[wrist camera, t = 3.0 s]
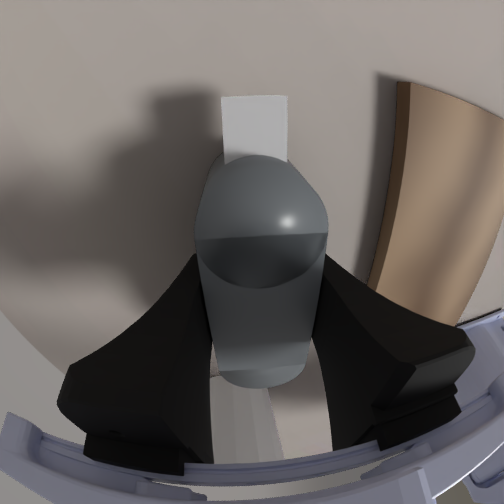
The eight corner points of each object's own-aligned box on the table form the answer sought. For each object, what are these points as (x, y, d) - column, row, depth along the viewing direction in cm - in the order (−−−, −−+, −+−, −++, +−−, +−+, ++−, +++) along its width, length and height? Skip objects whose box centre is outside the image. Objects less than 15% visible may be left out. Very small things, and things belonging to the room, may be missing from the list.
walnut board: (508, 125, 9) (519, 129, 8) (448, 318, 17) (454, 327, 16) (397, 81, 8) (410, 82, 7) (349, 341, 17) (353, 353, 16)
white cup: (231, 415, 22) (235, 482, 16) (170, 390, 19) (164, 470, 13) (293, 389, 19) (307, 467, 14) (232, 358, 16) (237, 460, 11)
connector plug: (297, 97, 9) (337, 97, 5) (287, 322, 15) (300, 384, 11) (199, 99, 8) (178, 100, 5) (223, 327, 14) (223, 390, 11)
